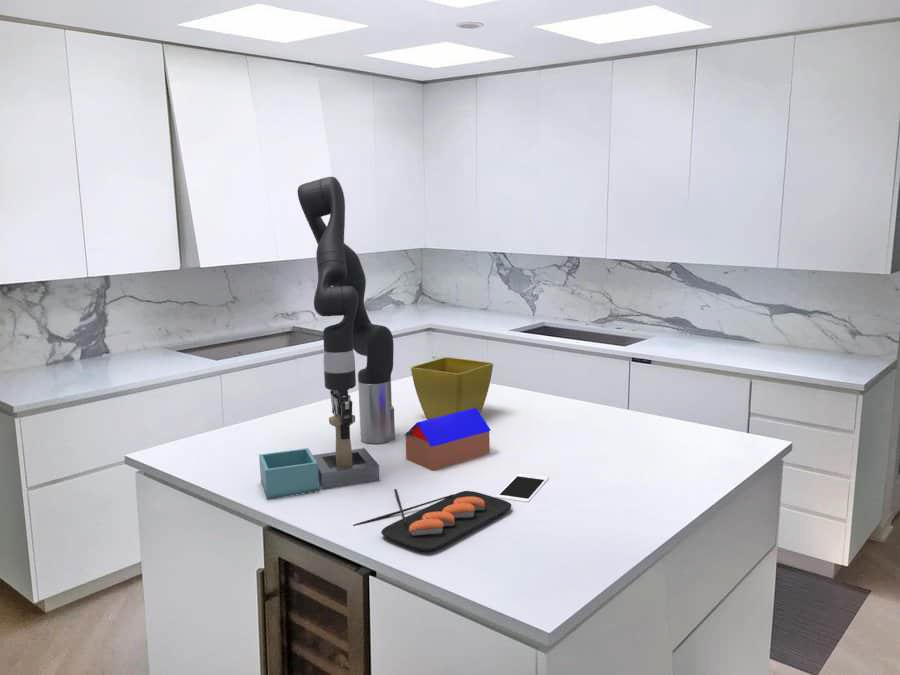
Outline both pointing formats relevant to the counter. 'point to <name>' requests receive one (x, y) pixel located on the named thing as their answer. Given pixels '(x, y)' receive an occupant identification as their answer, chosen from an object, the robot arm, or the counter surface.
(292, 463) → the bin
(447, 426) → the house
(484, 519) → the sushi plate
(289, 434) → the counter surface
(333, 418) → the handle
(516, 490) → the cell phone
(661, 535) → the counter surface
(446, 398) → the flower pot
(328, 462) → the socket block
